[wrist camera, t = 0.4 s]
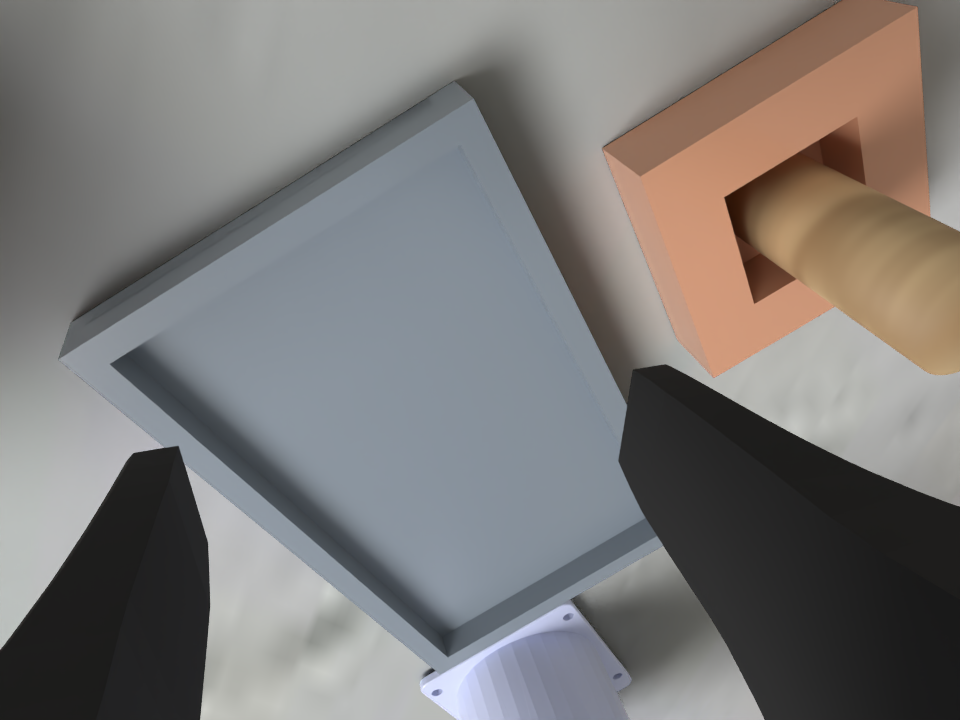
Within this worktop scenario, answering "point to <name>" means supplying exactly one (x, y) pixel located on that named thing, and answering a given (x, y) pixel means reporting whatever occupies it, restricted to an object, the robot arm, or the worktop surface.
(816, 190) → the dowel pin
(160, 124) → the worktop surface
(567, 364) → the tray
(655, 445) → the robot arm
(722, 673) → the worktop surface
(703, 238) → the orange square hole block
